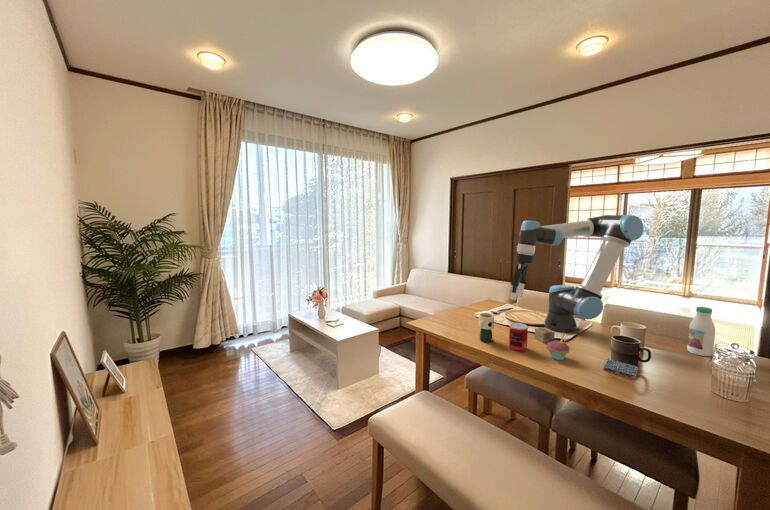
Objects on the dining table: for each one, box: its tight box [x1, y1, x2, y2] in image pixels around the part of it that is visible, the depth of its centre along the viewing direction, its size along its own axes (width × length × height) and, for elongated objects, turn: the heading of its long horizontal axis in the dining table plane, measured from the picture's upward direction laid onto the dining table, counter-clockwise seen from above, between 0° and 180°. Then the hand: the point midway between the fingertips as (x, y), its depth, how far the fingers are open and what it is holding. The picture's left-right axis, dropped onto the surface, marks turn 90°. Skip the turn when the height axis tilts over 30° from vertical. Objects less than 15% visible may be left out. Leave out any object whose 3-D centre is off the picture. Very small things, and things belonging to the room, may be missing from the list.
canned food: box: [508, 322, 529, 353], centre depth 139 cm, size 8×8×11 cm
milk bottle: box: [686, 306, 716, 357], centre depth 128 cm, size 8×8×20 cm
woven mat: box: [602, 358, 639, 380], centre depth 118 cm, size 10×11×2 cm
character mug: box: [478, 312, 495, 342], centre depth 148 cm, size 11×7×13 cm, turn 136°
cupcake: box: [545, 332, 571, 361], centre depth 128 cm, size 9×8×12 cm
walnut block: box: [534, 327, 555, 344], centre depth 147 cm, size 6×6×5 cm
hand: (516, 298), depth 142 cm, fingers open, 13 cm apart
